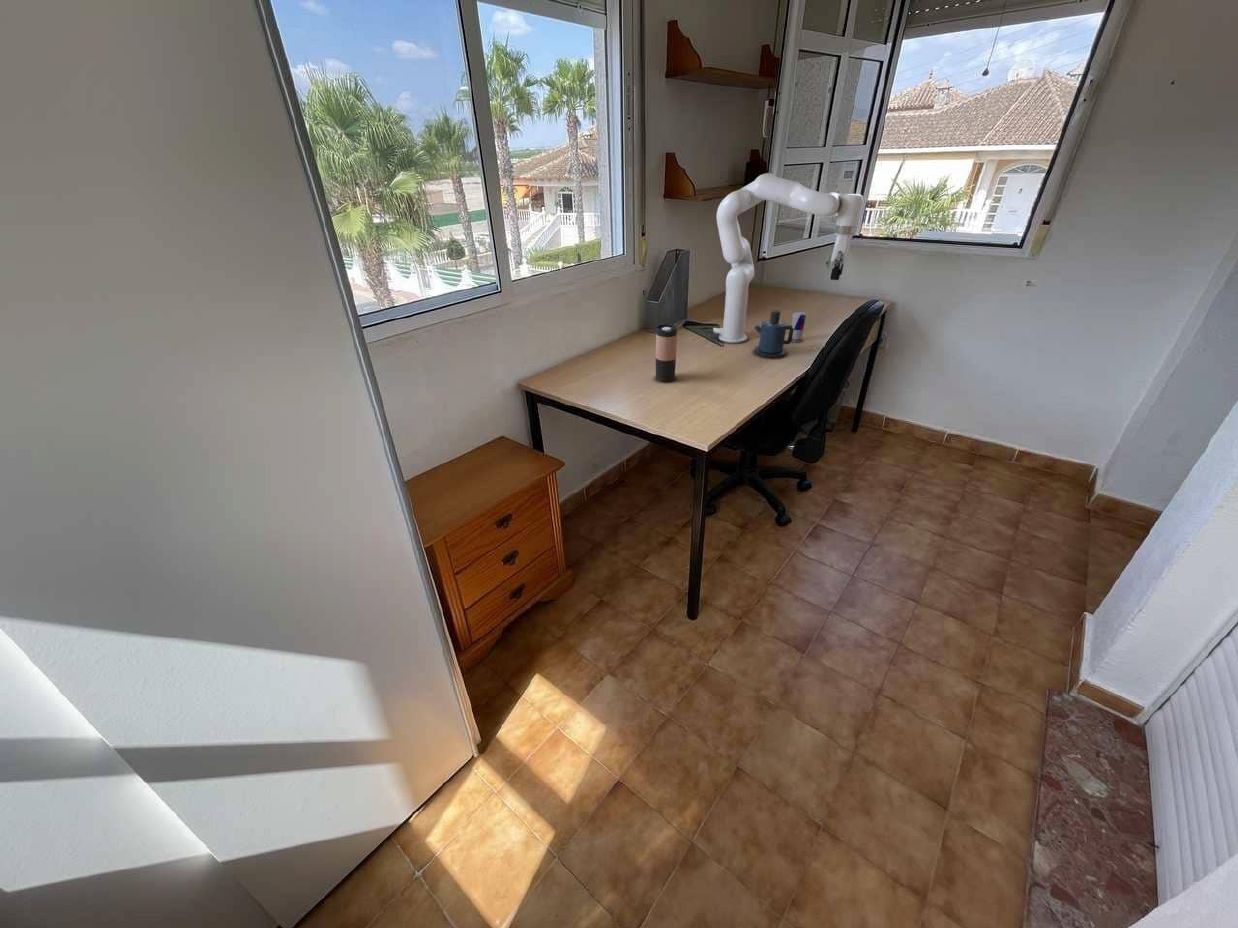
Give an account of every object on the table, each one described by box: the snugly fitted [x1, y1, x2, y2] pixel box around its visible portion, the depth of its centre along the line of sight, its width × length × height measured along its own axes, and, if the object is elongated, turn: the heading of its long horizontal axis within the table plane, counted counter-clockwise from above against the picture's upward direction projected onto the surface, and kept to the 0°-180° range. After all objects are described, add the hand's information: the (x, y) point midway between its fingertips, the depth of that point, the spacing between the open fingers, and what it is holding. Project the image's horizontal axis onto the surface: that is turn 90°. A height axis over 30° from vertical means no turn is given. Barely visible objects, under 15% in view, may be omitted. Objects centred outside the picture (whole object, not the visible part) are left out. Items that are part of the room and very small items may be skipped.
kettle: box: [754, 309, 794, 353], centre depth 216 cm, size 16×10×16 cm, turn 70°
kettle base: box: [753, 345, 787, 360], centre depth 221 cm, size 13×13×2 cm
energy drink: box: [790, 311, 807, 343], centre depth 231 cm, size 5×5×12 cm
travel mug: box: [655, 323, 678, 383], centre depth 194 cm, size 8×8×20 cm
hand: (835, 277), depth 208 cm, fingers open, 9 cm apart
